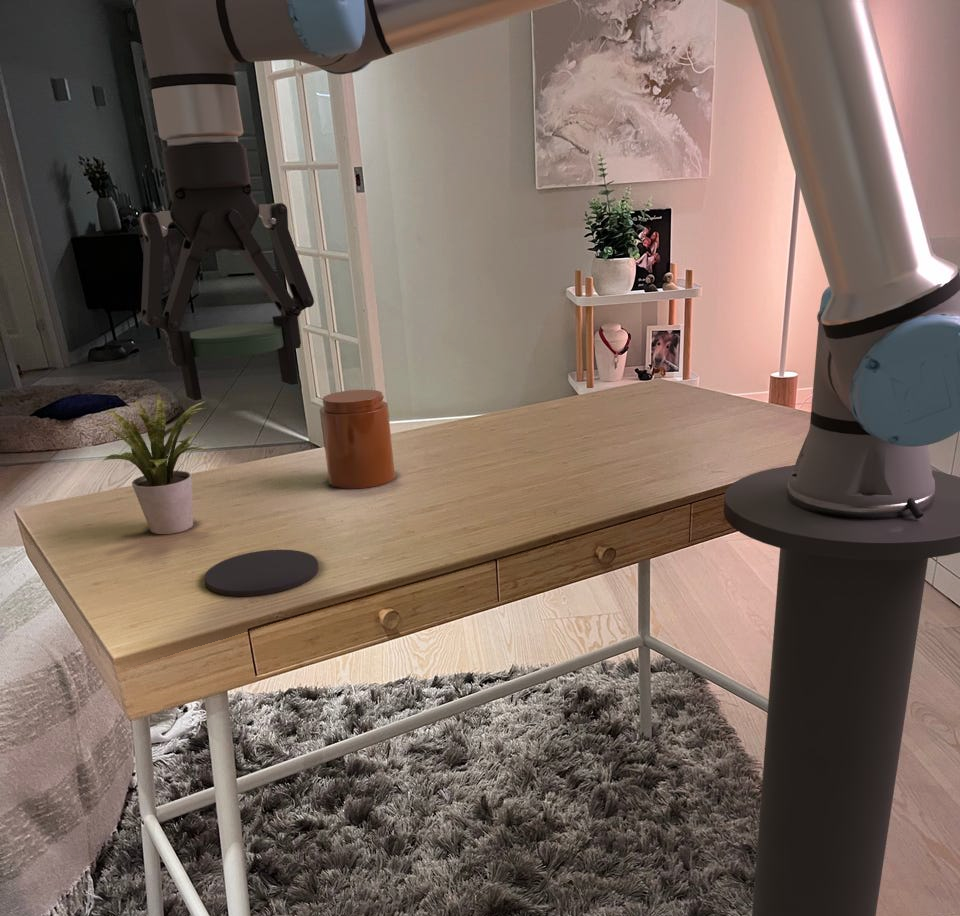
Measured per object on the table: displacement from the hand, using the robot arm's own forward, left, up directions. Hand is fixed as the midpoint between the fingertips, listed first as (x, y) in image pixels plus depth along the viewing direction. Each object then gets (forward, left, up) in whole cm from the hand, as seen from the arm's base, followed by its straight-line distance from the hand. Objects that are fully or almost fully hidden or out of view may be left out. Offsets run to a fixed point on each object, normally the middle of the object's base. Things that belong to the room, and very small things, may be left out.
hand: (243, 390), depth 99 cm
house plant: (+20, +5, -19) cm, 28 cm away
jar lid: (0, 0, +5) cm, 5 cm away
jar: (+24, -22, -19) cm, 38 cm away
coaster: (-2, +2, -19) cm, 19 cm away
